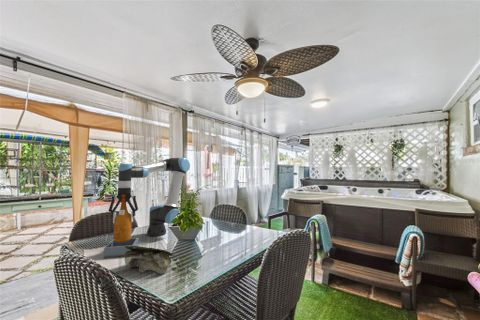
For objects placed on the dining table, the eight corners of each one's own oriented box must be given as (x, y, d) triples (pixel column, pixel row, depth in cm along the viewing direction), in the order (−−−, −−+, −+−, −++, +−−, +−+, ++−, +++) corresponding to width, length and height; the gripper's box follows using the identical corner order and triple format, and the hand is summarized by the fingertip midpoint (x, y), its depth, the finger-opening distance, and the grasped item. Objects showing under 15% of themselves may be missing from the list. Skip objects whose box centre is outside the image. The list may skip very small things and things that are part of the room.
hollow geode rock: (124, 274, 117) (108, 262, 107) (137, 252, 126) (123, 238, 117) (168, 281, 109) (154, 268, 99) (178, 256, 118) (167, 242, 109)
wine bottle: (110, 241, 134) (111, 193, 136) (124, 237, 143) (126, 192, 145) (119, 244, 130) (121, 194, 131) (134, 239, 139) (135, 193, 140)
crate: (138, 246, 146) (138, 237, 146) (133, 255, 131) (133, 245, 131) (112, 248, 142) (112, 239, 142) (103, 258, 126) (104, 247, 127)
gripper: (144, 186, 145) (142, 220, 144) (107, 187, 139) (105, 221, 138) (142, 187, 138) (140, 222, 137) (103, 187, 132) (101, 224, 131)
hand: (123, 222), depth 137 cm, fingers closed on wine bottle, 9 cm apart
